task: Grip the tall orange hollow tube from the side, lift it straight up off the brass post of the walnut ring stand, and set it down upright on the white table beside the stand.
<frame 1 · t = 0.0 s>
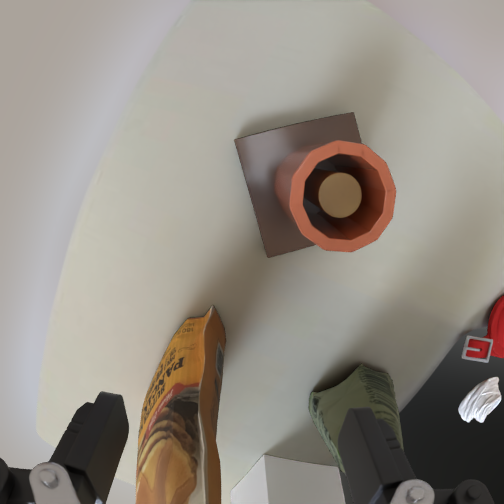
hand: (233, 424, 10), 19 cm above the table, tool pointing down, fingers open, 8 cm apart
whipped cream: (477, 393, 35), on the table
orange hollow tube: (311, 184, 25), point 1 cm above the table, touching ring stand
ring stand: (308, 182, 27), on the table
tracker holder: (490, 324, 32), on the table
pancake mix bag: (191, 369, 32), on the table
pouch: (346, 396, 34), on the table
milk: (283, 480, 38), on the table
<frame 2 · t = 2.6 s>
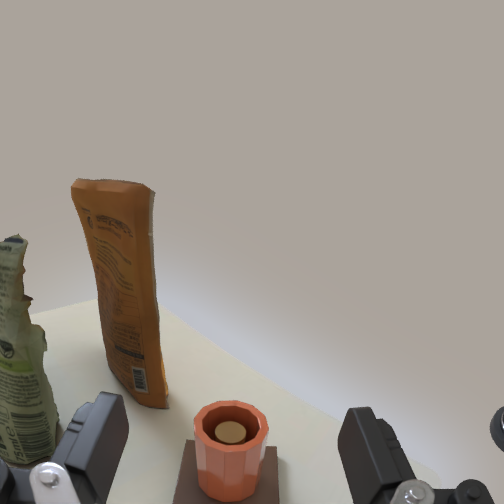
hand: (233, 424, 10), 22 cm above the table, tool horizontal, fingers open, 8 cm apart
orange hollow tube: (228, 478, 26), point 1 cm above the table, touching ring stand
ring stand: (228, 485, 27), on the table
pancake mix bag: (131, 380, 42), on the table
pouch: (30, 436, 27), on the table
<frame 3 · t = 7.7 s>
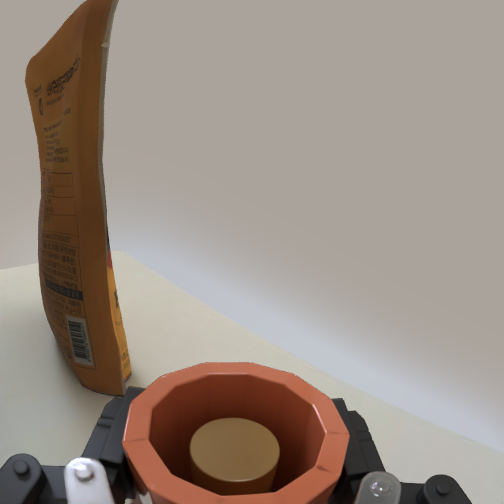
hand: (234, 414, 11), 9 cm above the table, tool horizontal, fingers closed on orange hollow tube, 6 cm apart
pancake mix bag: (80, 351, 26), on the table
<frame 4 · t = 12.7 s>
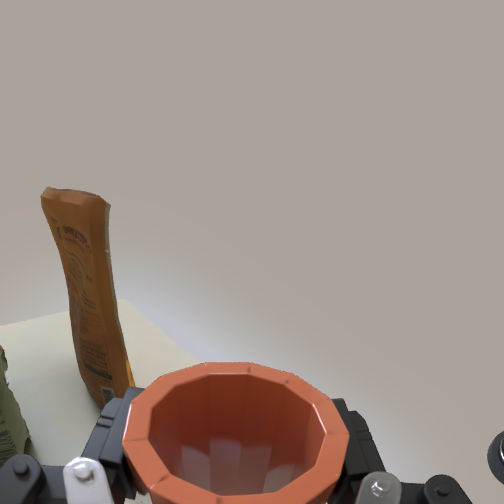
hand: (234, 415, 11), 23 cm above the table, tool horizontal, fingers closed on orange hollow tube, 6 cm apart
pancake mix bag: (106, 397, 38), on the table
pouch: (2, 450, 23), on the table
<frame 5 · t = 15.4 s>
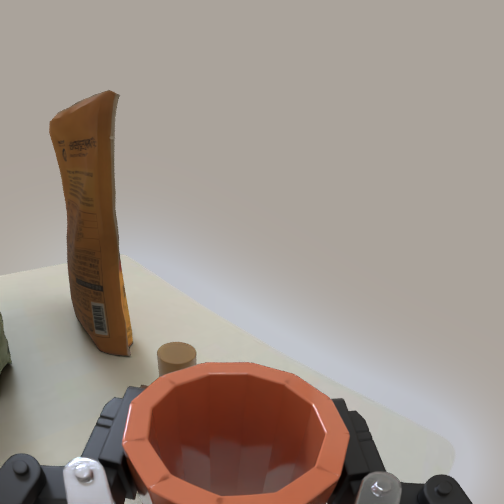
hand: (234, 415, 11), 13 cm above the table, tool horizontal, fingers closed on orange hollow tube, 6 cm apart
ring stand: (183, 441, 23), on the table
pancake mix bag: (97, 329, 38), on the table
when the fingers open (7 cm above the table, at t = 17.8 s): orange hollow tube stays where it is, on the table.
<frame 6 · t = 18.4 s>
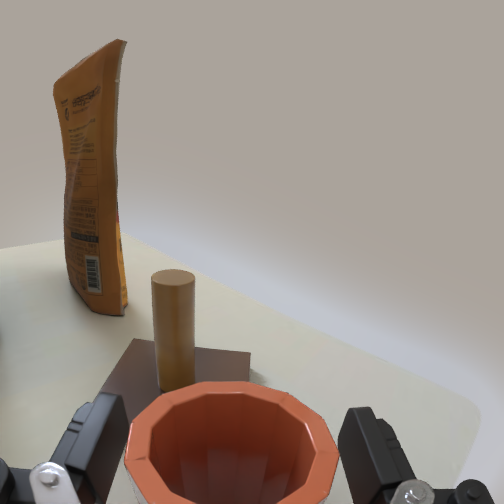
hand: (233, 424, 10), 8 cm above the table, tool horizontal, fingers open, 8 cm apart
ring stand: (177, 398, 21), on the table
pancake mix bag: (90, 293, 36), on the table
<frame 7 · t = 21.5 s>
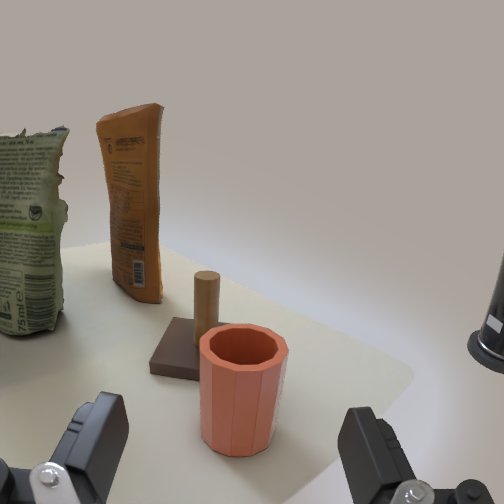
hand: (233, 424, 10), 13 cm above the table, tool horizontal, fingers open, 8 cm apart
orange hollow tube: (237, 430, 24), on the table
ring stand: (205, 353, 35), on the table
pancake mix bag: (131, 287, 50), on the table
pouch: (34, 321, 36), on the table
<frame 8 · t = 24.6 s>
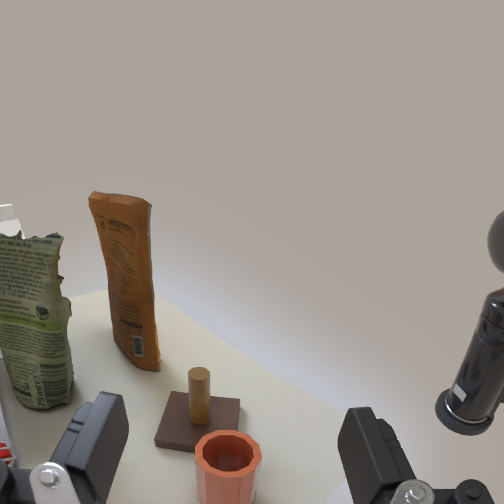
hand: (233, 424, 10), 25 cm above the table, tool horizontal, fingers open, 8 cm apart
orange hollow tube: (225, 496, 28), on the table
ring stand: (200, 425, 38), on the table
pancake mix bag: (132, 351, 54), on the table
pouch: (49, 390, 39), on the table
milk: (18, 338, 50), on the table
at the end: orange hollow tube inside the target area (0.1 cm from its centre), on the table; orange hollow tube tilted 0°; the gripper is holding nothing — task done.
